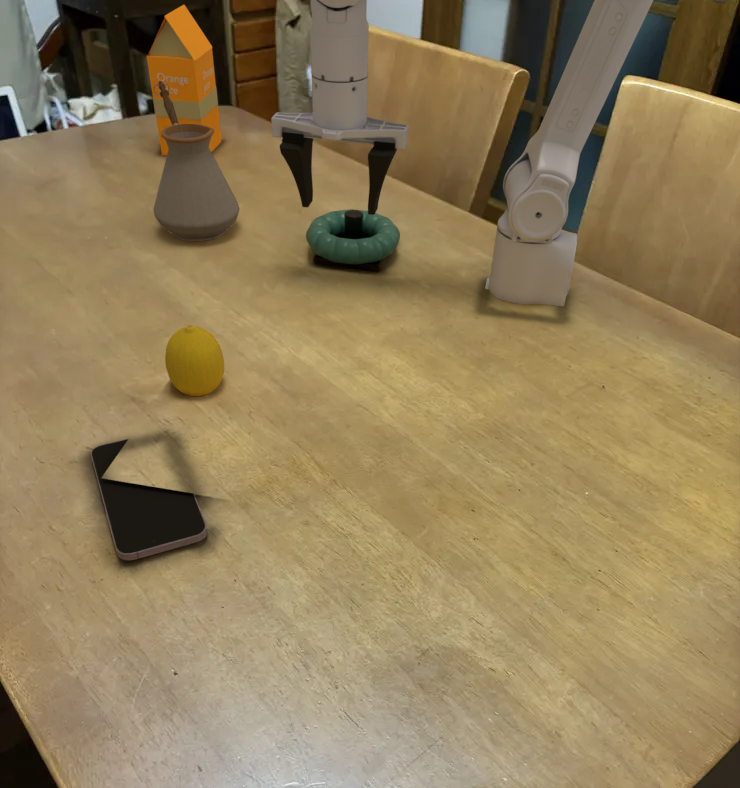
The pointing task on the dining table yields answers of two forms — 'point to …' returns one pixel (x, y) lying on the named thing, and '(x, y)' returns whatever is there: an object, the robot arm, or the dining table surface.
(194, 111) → the orange juice
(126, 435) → the dining table surface
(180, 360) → the lemon
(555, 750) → the dining table surface
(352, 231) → the peg stand
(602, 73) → the robot arm
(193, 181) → the coffee pot
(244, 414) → the dining table surface
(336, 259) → the hoop
